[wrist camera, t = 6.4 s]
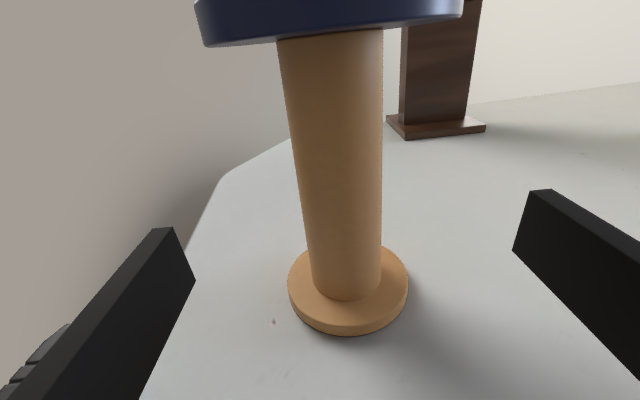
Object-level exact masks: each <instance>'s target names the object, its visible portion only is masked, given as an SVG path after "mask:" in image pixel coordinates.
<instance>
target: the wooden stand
mask: <svg viewBox="0 0 640 400" xmlns="http://www.w3.org/2000/svg"><path fill="white" fill-rule="evenodd" d="M482 1H483V0H464V3H463V11H462V15H461V17H460V18H457V19H453V20H448V21H442V22H436V23H429V24H422V25H415V26H408V27H402V32H401V59H400V86H399V113H398V114H395V115H386V122H387V123H388V124H389V125H390V126H391V127H392V128H393V129H394V130H395V131H396V132H397V133H398V134H399V135H400V136H401V137H402V138H403V139H404V140H412V139H422V138H431V137H441V136H450V135H459V134H469V133H478V132H485V130H486V124H484V123H481V122H479V121H477V120H475V119H473V118H470V117H468V116H466V115H465V113H466V107H467V99H468V93H469V86H470V80H471V73H472V67H473V60H474V54H475V47H476V40H477V34H478V27H479V21H480V14H481V8H482Z"/></svg>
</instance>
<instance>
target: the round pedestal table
mask: <svg viewBox="0 0 640 400" xmlns="http://www.w3.org/2000/svg"><path fill="white" fill-rule="evenodd" d="M463 3H464V0H196V2H195V3H194V9H195V13H196V17H197V21H198V25H199V28H200V32H201V36H202V40H203V43H204V45H205V47H210V48H214V47H229V46H241V45H253V44H263V43H273V42H276V44H277V51H278V58H279V64H280V71H281V77H282V84H283V90H284V97H285V103H286V110H287V116H288V123H289V129H290V136H291V142H292V149H293V155H294V162H295V168H296V175H297V181H298V188H299V195H300V201H301V208H302V214H303V221H304V227H305V234H306V240H307V247H308V250H307V251H305V252H304V253H303V254H302V255H300V257H299V258H298V259H297V260H296V261H295V262H294V264H293V266H292V267H291V269H290V272H289V275H288V280H287V287H288V293H289V298H290V301H291V304H292V307H293V308H294V310H295V312H296V313H297V314H298V316H299V317H300V318H301V319H302V320H303V321H304V322H305V323H307V324H308V325H310V326H311V327H313V328H315V329H317V330H319V331H321V332H324V333H327V334H331V335H336V336H359V335H365V334H368V333H372V332H375V331H377V330H379V329H381V328H383V327H385V326H386V325H388V324H389V323H390V322H392V321H393V320H394V319H395V318H396V317H397V316H398V315H399V314H400V312H401V310H402V309H403V307H404V305H405V303H406V299H407V294H408V275H407V272H406V269H405V267H404V265H403V263H402V262H401V261H400V259H399V258H398V257H397V256H396V255H395V254H394V253H393V252H391V251H390V250H389V249H387V248H385V247H384V246H382V245H381V215H382V112H383V111H382V110H383V109H382V108H383V30H385V29H393V28H400V27H408V26H415V25H422V24H429V23H436V22H442V21H448V20H453V19H457V18H460V17H461V15H462V11H463Z"/></svg>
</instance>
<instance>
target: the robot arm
mask: <svg viewBox="0 0 640 400" xmlns="http://www.w3.org/2000/svg"><path fill="white" fill-rule="evenodd" d="M512 251H513V252H514V253H515V254H516V255H517V256H518V257H519V258H520V259H521V260H522V261H523V262H524V263H525V264H526V265H527V266H528V268H529V269H530V270H531V271H532V272H533V273H534V274H535V275H536V276H537V277H538V278H539V279H540V280H541V281H542V282H543V283H544V284H545V285H546V286H547V287H548V288H549V289H550V290H551V291H552V292H553V293H554V294H555V295H556V296H557V297H558V298H559V299H560V300H561V301H562V302H563V303H564V304H565V305H566V306H567V307H568V308H569V310H570V311H571V312H572V313H573V314H574V315H575V316H576V317H577V318H578V319H579V320H580V321H581V322H582V323H583V324H584V325H585V326H586V327H587V328H588V329H589V330H590V331H591V332H592V333H593V334H594V335H595V336H596V337H597V338H598V339H599V340H600V341H601V342H602V343H603V344H604V345H605V346H606V347H607V348H608V349H609V350H610V351H611V353H612V354H613V355H614V356H615V357H616V358H617V359H618V360H619V361H620V362H621V363H622V364H623V365H624V366H625V367H626V368H627V369H628V370H629V371H630V372H631V373H632V374H633V375H634V376H635V377H636V378H637V379H638V380H639V381H640V242H639V241H637V240H636V239H634V238H632V237H631V236H629V235H627V234H626V233H624V232H622V231H621V230H619V229H617V228H616V227H614V226H612V225H611V224H609V223H607V222H606V221H604V220H602V219H601V218H599V217H597V216H596V215H594V214H592V213H591V212H589V211H587V210H586V209H584V208H583V207H581V206H579V205H578V204H576V203H574V202H573V201H571V200H569V199H568V198H566V197H564V196H563V195H561V194H559V193H558V192H556V191H554V190H553V189H543V190H533V191H530V192H529V195H528V198H527V202H526V205H525V208H524V212H523V215H522V218H521V221H520V225H519V228H518V231H517V235H516V238H515V241H514V245H513V248H512ZM195 282H196V279H195V277H194V275H193V272H192V270H191V268H190V266H189V263H188V261H187V259H186V256H185V254H184V252H183V249H182V247H181V245H180V242H179V240H178V238H177V236H176V233H175V231H174V229H173V227H165V228H155V229H152V230H151V231H150V232H149V234H148V235H147V236H146V237H145V238H144V239H143V240H142V242H141V243H140V244H139V245H138V246H137V247H136V249H135V250H134V251H133V252H132V253H131V254H130V256H129V257H128V258H127V259H126V260H125V261H124V263H123V264H122V265H121V266H120V267H119V268H118V270H117V271H116V272H115V273H114V274H113V275H112V277H111V278H110V279H109V280H108V281H107V282H106V284H105V285H104V286H103V287H102V288H101V289H100V291H99V292H98V293H97V294H96V295H95V296H94V298H93V299H92V300H91V301H90V302H89V303H88V305H87V306H86V307H85V308H84V309H83V310H82V312H81V313H80V314H79V315H78V317H76V319H75V320H74V321H73V322H72V323H71V324H66V325H64V326H63V327H62V328H61V329H59V330H58V331H57V332H55V333H54V334H53V335H52V336H50V337H49V338H48V339H47V340H45V341H44V342H43V343H42V344H41V346H39V348H38V349H37V350H36V351H35V352H34V353H33V354H32V355H31V357H30V358H29V359H28V360H27V361H26V364H25V366H23V367H21V368H20V369H19V370H18V371H17V372H16V373H15V374H14V376H13V377H12V378H11V379H10V380H9V381H10V382H9V384H8V385H5V386H4V387H3V388H2V389H1V390H0V400H139V397H140V395H141V393H142V391H143V389H144V387H145V385H146V383H147V381H148V379H149V377H150V375H151V373H152V371H153V369H154V366H155V364H156V362H157V360H158V358H159V356H160V354H161V352H162V350H163V348H164V346H165V344H166V342H167V340H168V338H169V335H170V333H171V331H172V329H173V327H174V325H175V323H176V321H177V319H178V317H179V315H180V313H181V311H182V309H183V307H184V304H185V302H186V300H187V298H188V296H189V294H190V292H191V290H192V288H193V286H194V284H195Z"/></svg>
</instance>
